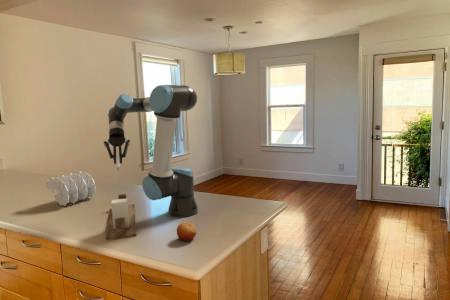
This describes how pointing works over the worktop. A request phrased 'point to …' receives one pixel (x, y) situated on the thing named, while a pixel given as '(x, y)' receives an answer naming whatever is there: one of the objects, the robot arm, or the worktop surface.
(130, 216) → the walnut board
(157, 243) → the worktop surface
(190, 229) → the fruit
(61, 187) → the spiral staircase
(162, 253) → the worktop surface
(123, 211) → the sleeve
